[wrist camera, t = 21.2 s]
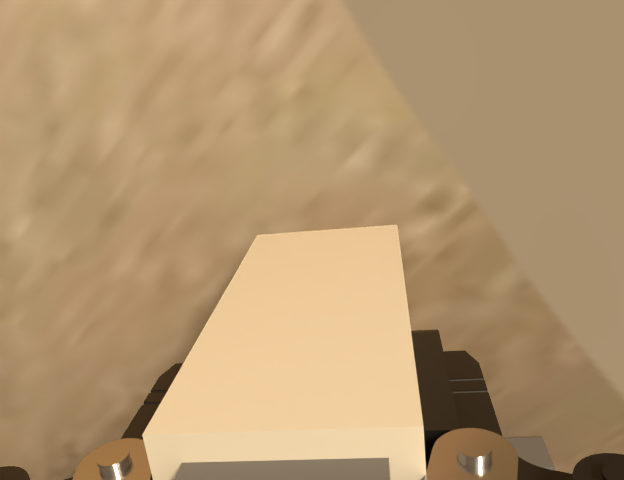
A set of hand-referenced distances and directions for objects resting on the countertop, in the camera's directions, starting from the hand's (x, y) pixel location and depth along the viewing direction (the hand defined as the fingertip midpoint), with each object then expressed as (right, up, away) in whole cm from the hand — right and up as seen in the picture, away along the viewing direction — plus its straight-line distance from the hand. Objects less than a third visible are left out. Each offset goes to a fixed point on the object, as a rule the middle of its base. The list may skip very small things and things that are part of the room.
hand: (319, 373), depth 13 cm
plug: (0, +1, +4) cm, 4 cm away
